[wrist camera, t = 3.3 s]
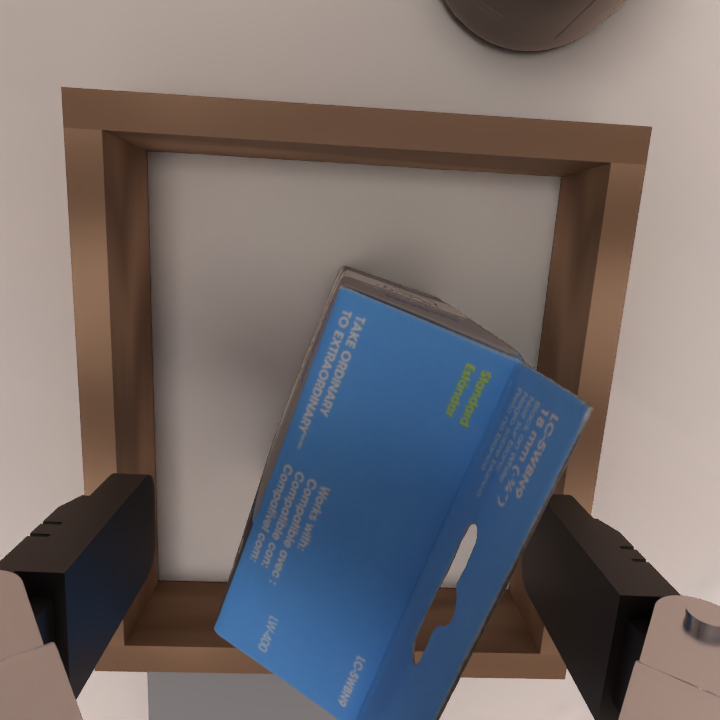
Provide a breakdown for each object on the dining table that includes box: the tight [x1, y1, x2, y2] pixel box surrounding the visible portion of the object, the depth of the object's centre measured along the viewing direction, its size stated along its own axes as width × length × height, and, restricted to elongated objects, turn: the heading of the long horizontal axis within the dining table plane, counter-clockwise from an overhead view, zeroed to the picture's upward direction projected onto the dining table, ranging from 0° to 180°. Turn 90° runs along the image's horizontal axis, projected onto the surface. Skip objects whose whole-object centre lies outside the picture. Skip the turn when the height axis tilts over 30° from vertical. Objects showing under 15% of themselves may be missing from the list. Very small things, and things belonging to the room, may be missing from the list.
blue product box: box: [214, 266, 593, 720], centre depth 14 cm, size 9×4×12 cm, turn 159°
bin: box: [61, 87, 652, 679], centre depth 18 cm, size 18×16×4 cm
